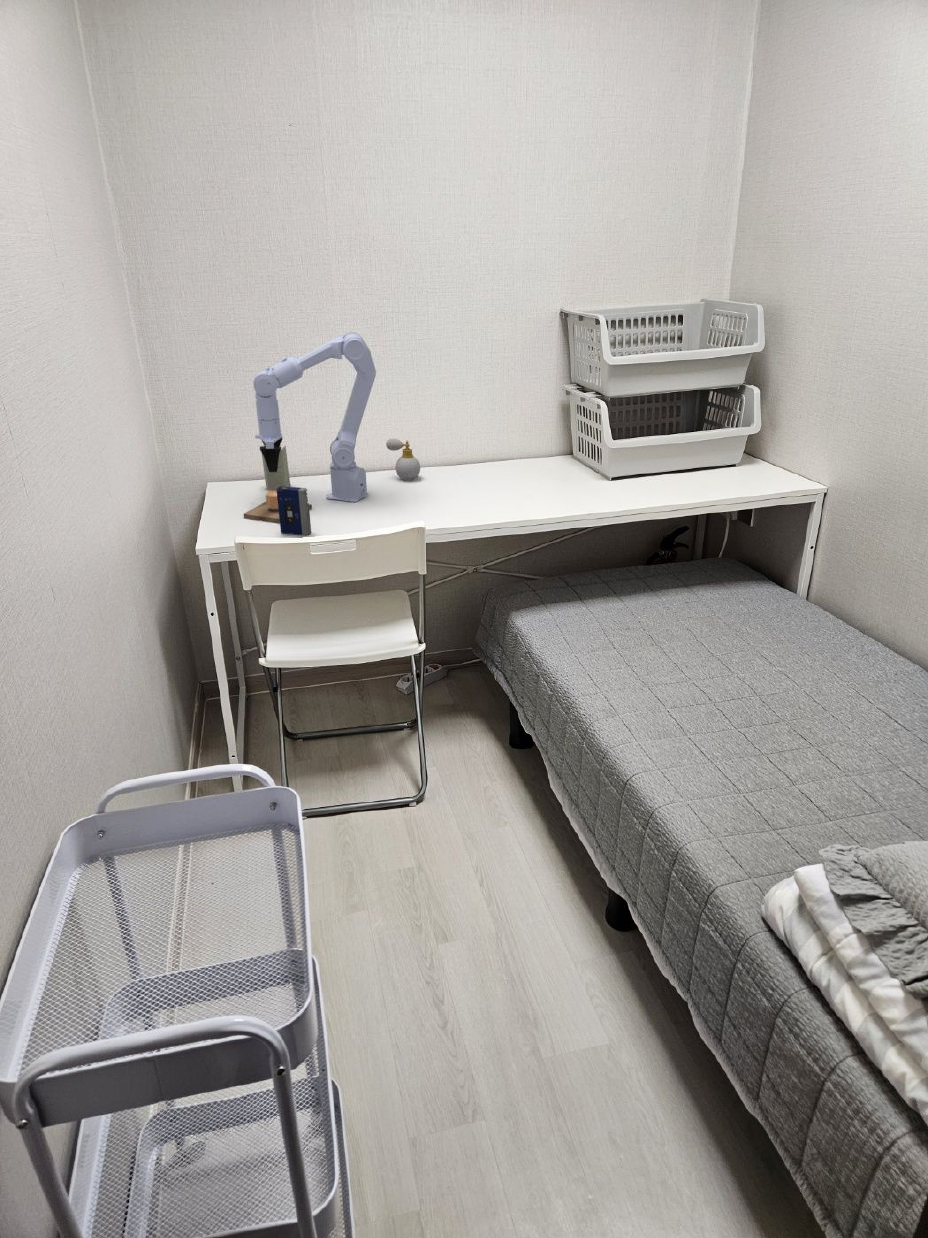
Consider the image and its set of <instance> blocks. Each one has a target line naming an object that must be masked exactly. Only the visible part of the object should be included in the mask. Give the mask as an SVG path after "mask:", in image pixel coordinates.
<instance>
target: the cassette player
mask: <svg viewBox="0 0 928 1238" xmlns="http://www.w3.org/2000/svg"><path fill="white" fill-rule="evenodd" d="M276 490H277V500H278V509H279V519H280V523H279V526H280V534H284V535H285V534H287V535H294V536H295V535H297V536H309V535H311V533H312V524H311V515H310V512H311V511H310V510H309V504H310V503H309V501H308V499H309V498H308V492H307V491H308V489H307V488H306V487H299V486H298V487H296V486H295V487H294V486H289V487H285V486H279V487H278V488H277V489H276Z"/></svg>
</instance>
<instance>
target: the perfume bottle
mask: <svg viewBox="0 0 928 1238" xmlns="http://www.w3.org/2000/svg"><path fill="white" fill-rule="evenodd" d="M385 444H386V448H387V449H388V450H389V451H395V452H396V451H399V450H401V449H402V456H400V457H399V458H398V460H396V463H395V472H396V475H397V476H398V477H399V478H400V479H402V480H404V479H405V481H411V479H412V480H414V479H416V478H417V477H418V476H419V474H420V473H421V464H420V461H419V460H418V458H417V457H415V456H414V454H413V449H412V448H409V447H410V446H411V445H410V443H409V440H406V441H405V443H403V441H401V440H400V439H398V438H389V439H388V440H387V442H386V443H385ZM404 447H405V448H404Z"/></svg>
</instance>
